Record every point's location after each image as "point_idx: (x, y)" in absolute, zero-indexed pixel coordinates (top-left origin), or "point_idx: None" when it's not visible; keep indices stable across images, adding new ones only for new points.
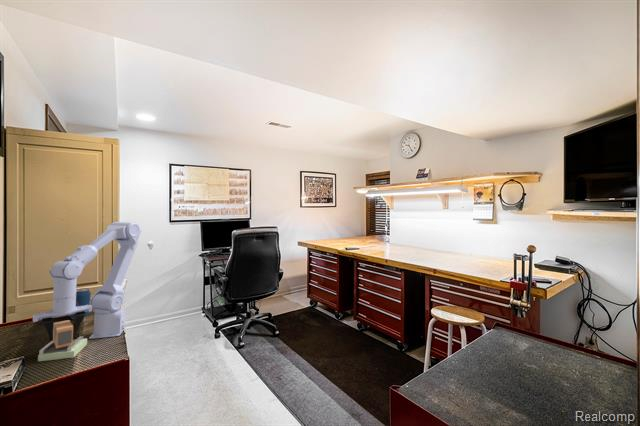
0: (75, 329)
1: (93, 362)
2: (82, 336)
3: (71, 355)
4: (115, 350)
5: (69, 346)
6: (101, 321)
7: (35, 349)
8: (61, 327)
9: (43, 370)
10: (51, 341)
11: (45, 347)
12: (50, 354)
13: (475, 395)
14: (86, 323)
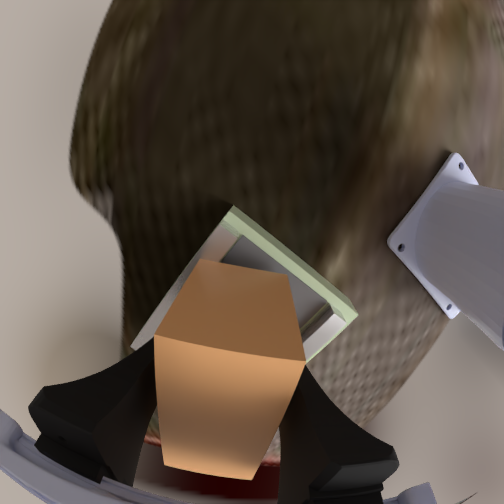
0: (283, 424)
1: (272, 444)
2: (338, 329)
3: None
4: (354, 421)
5: None
6: (471, 316)
7: (159, 149)
8: (191, 460)
9: None
10: (190, 266)
11: (153, 334)
12: None
13: None
14: (436, 3)
